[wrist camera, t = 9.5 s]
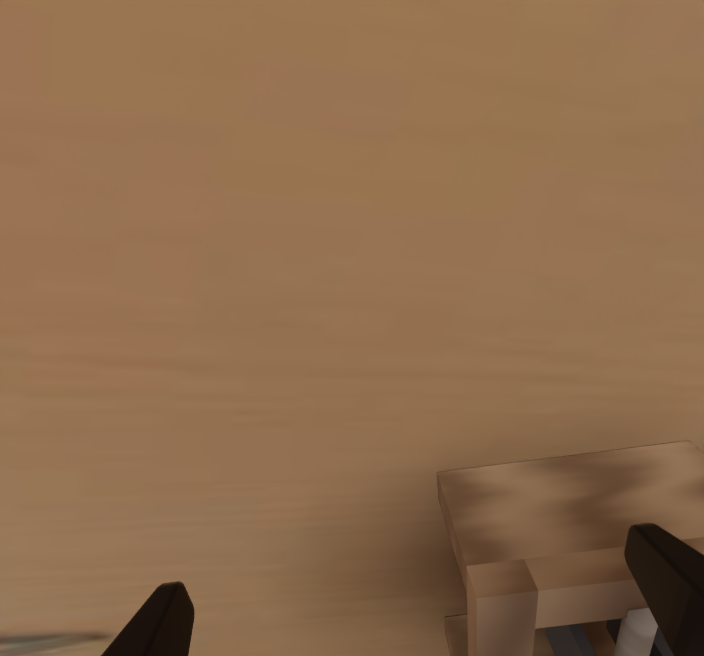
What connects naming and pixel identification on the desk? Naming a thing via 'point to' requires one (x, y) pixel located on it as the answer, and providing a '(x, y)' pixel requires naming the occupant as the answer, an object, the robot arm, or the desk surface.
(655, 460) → the shelf
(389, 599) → the desk surface
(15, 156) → the desk surface
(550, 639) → the grey slotted box
